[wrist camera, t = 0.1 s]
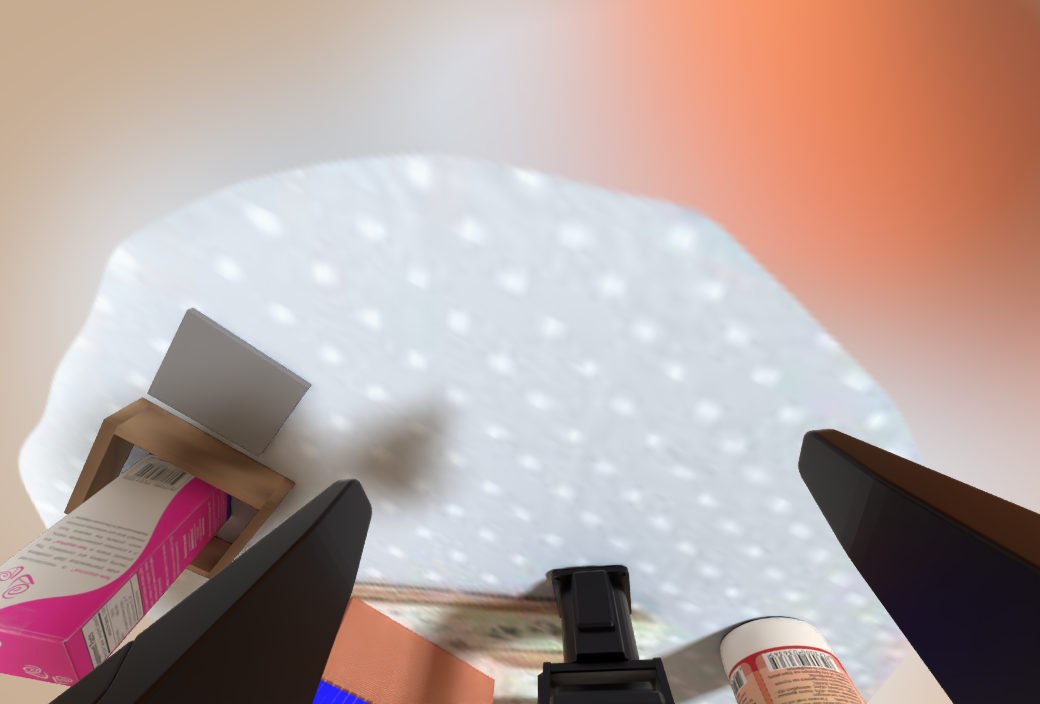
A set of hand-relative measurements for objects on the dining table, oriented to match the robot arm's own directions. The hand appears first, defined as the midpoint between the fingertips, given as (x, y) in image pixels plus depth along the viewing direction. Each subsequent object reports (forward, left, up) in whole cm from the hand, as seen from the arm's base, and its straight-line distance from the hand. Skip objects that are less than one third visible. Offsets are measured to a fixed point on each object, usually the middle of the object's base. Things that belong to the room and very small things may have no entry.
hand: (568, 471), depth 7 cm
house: (-39, +22, -15) cm, 47 cm away
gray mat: (-4, +22, -15) cm, 27 cm away
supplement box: (-12, +30, -15) cm, 35 cm away
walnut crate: (-12, +30, -15) cm, 35 cm away
